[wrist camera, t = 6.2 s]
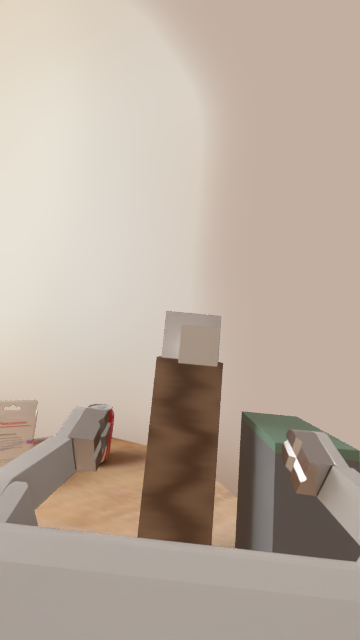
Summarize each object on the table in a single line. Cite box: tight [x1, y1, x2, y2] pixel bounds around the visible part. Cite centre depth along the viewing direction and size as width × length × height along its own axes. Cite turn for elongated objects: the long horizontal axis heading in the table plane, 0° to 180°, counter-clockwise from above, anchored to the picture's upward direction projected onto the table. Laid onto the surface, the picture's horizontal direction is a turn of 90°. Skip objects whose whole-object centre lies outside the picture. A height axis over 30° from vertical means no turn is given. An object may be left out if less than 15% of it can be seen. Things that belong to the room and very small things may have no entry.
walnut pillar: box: [138, 356, 223, 546], centre depth 27 cm, size 7×10×26 cm
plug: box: [162, 311, 221, 367], centre depth 23 cm, size 19×6×5 cm, turn 0°
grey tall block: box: [235, 412, 360, 562], centre depth 22 cm, size 7×10×20 cm
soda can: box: [88, 404, 114, 464], centre depth 53 cm, size 7×7×12 cm
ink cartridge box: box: [0, 400, 38, 468], centre depth 44 cm, size 9×5×15 cm, turn 118°
